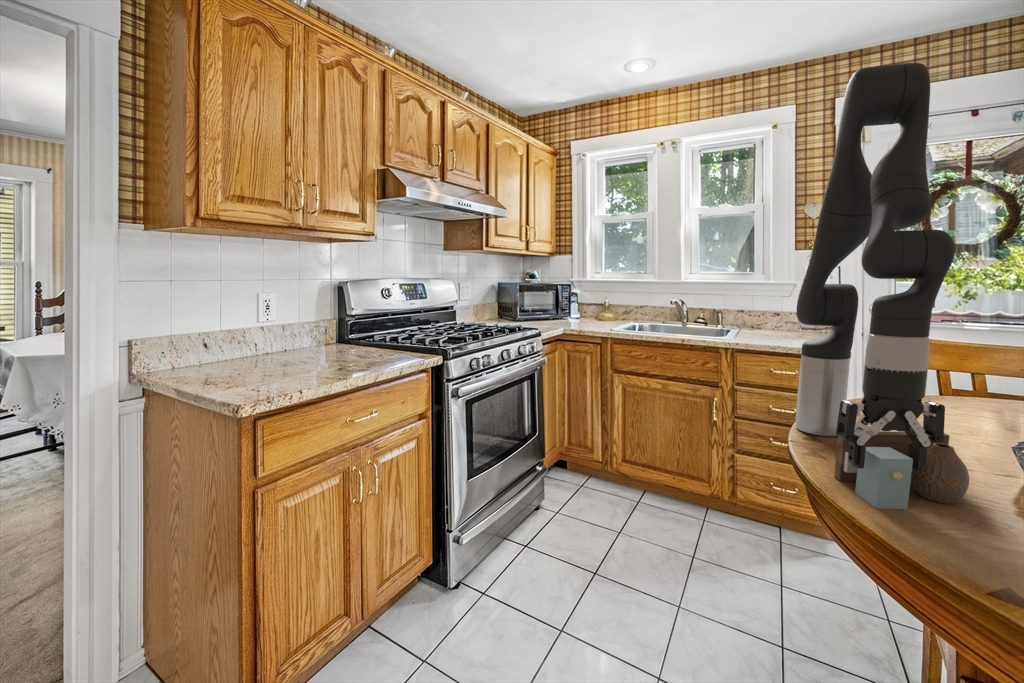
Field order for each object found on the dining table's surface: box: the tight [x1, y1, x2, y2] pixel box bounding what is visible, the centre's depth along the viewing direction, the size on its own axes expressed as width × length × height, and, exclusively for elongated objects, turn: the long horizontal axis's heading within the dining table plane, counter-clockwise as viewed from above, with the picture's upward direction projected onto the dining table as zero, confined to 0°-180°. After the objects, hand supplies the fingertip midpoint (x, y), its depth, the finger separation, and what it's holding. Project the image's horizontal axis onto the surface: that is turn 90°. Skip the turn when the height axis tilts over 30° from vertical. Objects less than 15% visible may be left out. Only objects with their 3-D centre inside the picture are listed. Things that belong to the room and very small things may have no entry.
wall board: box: [833, 430, 950, 484], centre depth 83 cm, size 2×17×8 cm, turn 86°
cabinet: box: [844, 447, 913, 510], centre depth 77 cm, size 9×5×8 cm, turn 176°
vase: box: [911, 443, 970, 504], centre depth 76 cm, size 7×7×9 cm
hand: (885, 467), depth 75 cm, fingers open, 8 cm apart
